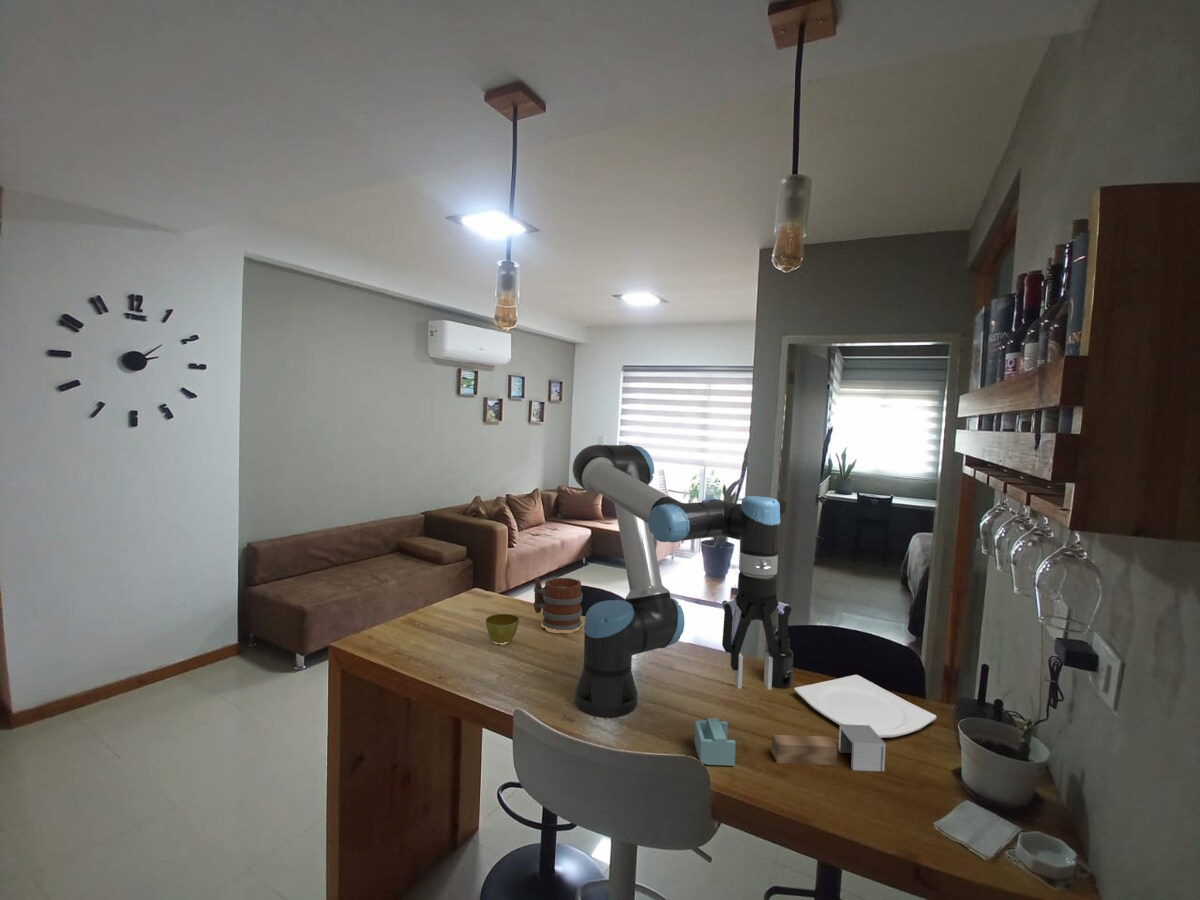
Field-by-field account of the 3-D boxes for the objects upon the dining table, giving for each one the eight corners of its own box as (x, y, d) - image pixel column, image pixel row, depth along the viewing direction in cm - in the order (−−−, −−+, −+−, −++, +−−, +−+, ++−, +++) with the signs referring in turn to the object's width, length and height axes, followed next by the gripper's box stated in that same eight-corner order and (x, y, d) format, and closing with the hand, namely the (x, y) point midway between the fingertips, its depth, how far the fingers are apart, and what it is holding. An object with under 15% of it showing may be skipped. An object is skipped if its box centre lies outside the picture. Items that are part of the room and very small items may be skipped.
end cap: (852, 770, 106) (854, 742, 106) (838, 750, 112) (839, 724, 112) (884, 771, 106) (885, 743, 105) (867, 751, 112) (869, 725, 112)
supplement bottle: (793, 690, 138) (795, 645, 138) (766, 687, 139) (768, 642, 139) (789, 678, 145) (791, 635, 144) (763, 675, 146) (765, 632, 146)
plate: (869, 751, 113) (869, 739, 113) (786, 696, 135) (786, 686, 135) (945, 729, 123) (945, 717, 122) (855, 681, 145) (856, 671, 145)
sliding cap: (700, 764, 106) (701, 738, 105) (694, 741, 113) (695, 717, 113) (734, 765, 105) (735, 739, 105) (726, 743, 113) (727, 718, 113)
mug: (565, 638, 168) (566, 591, 167) (520, 624, 178) (521, 579, 178) (591, 625, 179) (592, 581, 178) (547, 612, 190) (548, 571, 189)
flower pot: (502, 633, 170) (502, 611, 170) (525, 641, 164) (526, 618, 164) (478, 642, 162) (478, 619, 161) (501, 651, 156) (501, 627, 156)
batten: (777, 764, 107) (777, 744, 107) (771, 753, 111) (772, 734, 111) (836, 766, 107) (837, 746, 107) (829, 755, 111) (830, 736, 111)
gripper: (716, 576, 104) (711, 693, 105) (810, 580, 104) (804, 696, 105) (709, 567, 112) (704, 675, 113) (796, 570, 111) (791, 678, 112)
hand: (752, 685), depth 109 cm, fingers open, 5 cm apart
